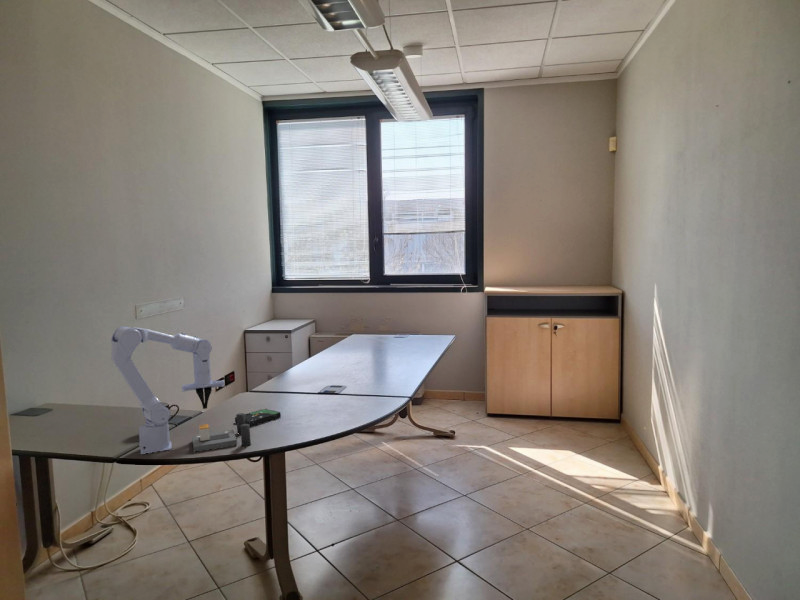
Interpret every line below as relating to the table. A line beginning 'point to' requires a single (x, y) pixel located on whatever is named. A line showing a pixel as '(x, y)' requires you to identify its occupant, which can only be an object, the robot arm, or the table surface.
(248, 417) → the disk drive
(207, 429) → the block
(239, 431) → the cylinder
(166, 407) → the coffee mug
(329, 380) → the table surface
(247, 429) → the post
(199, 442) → the breaker panel
